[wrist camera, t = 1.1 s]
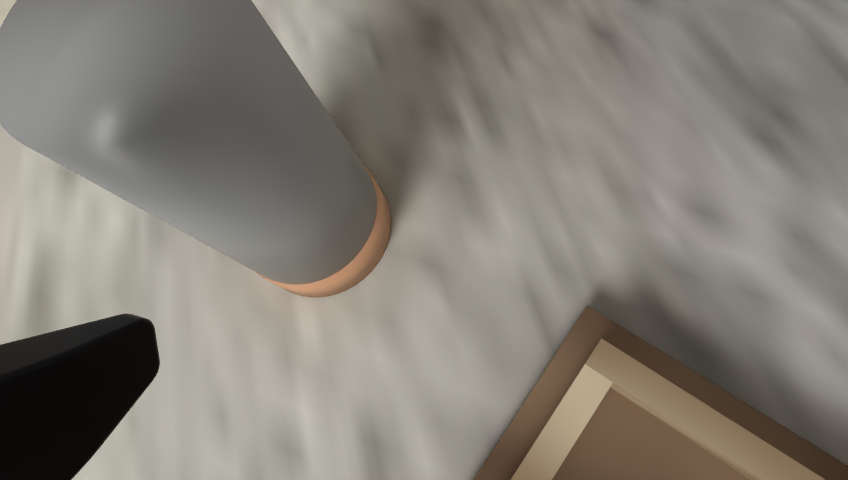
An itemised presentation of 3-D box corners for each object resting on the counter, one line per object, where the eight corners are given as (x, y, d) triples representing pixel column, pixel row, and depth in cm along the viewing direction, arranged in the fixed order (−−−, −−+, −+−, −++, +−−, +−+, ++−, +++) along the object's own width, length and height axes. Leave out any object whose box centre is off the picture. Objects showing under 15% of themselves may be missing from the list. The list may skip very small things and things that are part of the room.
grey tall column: (332, 325, 23) (96, 209, 11) (231, 248, 25) (-61, 79, 13) (419, 206, 24) (290, -23, 12) (314, 142, 26) (114, -109, 14)
